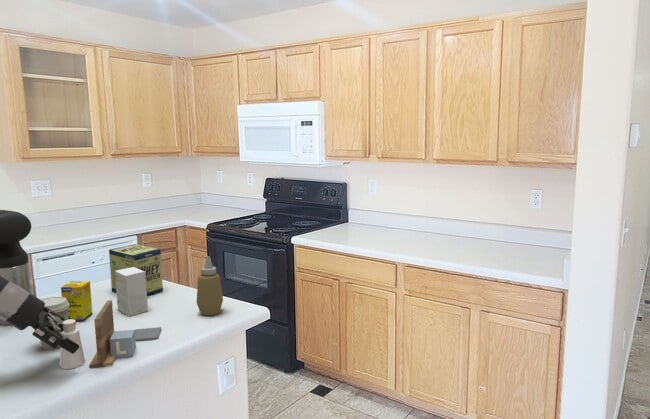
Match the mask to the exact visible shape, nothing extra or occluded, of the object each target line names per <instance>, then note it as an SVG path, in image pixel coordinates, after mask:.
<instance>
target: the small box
mask: <svg viewBox="0 0 650 419" xmlns="http://www.w3.org/2000/svg"><path fill="white" fill-rule="evenodd" d="M115 278H116V292H117V293H116V304H117V311H119V312H121V313H122V314H124V315H126V316H128V317H132V316H135V315H139V314H141V313H142V314H143V313H146V312H148V311H149V308H148V305H149V304H148V297H147V290H146V276H145V271H142V270H140V269H137V268H135V267H131V268H126V269H121V270H116V271H115Z"/></svg>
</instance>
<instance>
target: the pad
mask: <svg viewBox="0 0 650 419" xmlns="http://www.w3.org/2000/svg"><path fill="white" fill-rule="evenodd" d="M134 330H135V339H136V342H144V341H145V342H146V341H156V340H159V338H160V335H161V332H162V327H161V326H159V327H147V328H146V327H145V328H135V329H134Z"/></svg>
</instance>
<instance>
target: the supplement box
mask: <svg viewBox="0 0 650 419" xmlns="http://www.w3.org/2000/svg"><path fill="white" fill-rule="evenodd" d="M60 294H61V297H65V298H66V299H67V301H68V302H69V307H68V320H69V319H73V320H75V321H76V322H79V323H80V322H81V323H83V322H85V321H86V320H88V318H90V317H91V316H92V315H93V304H92V303H93V302H92V291H91V281H90V280H87V281H86V280H85V281H80V280H78V281H76V280H75V281H74V280H70V281H69V282H67V283H65V284H64V285H62V286H60Z"/></svg>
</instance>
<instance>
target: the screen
mask: <svg viewBox="0 0 650 419" xmlns="http://www.w3.org/2000/svg"><path fill="white" fill-rule="evenodd" d="M113 310H114V309H113V300H111V299H110V300H106V301H105V303H104V304H103V306H102V308H101V309H100V310H99V312H98V313H97V314H96V317H95V318H94V319H93V320H94V334H95V344H96V346H95V347H96V352H95V354H94V356H93V358H92V359H91V361H90V363H89V368H90V369H91V368H103V367H112V366H113V365H114V362H115V360H116V359H117V358H116V356H115V355H111V348H110V338H111V336H112V335H113V333H114V331H115V325H114V324H115V323H114V311H113Z"/></svg>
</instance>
